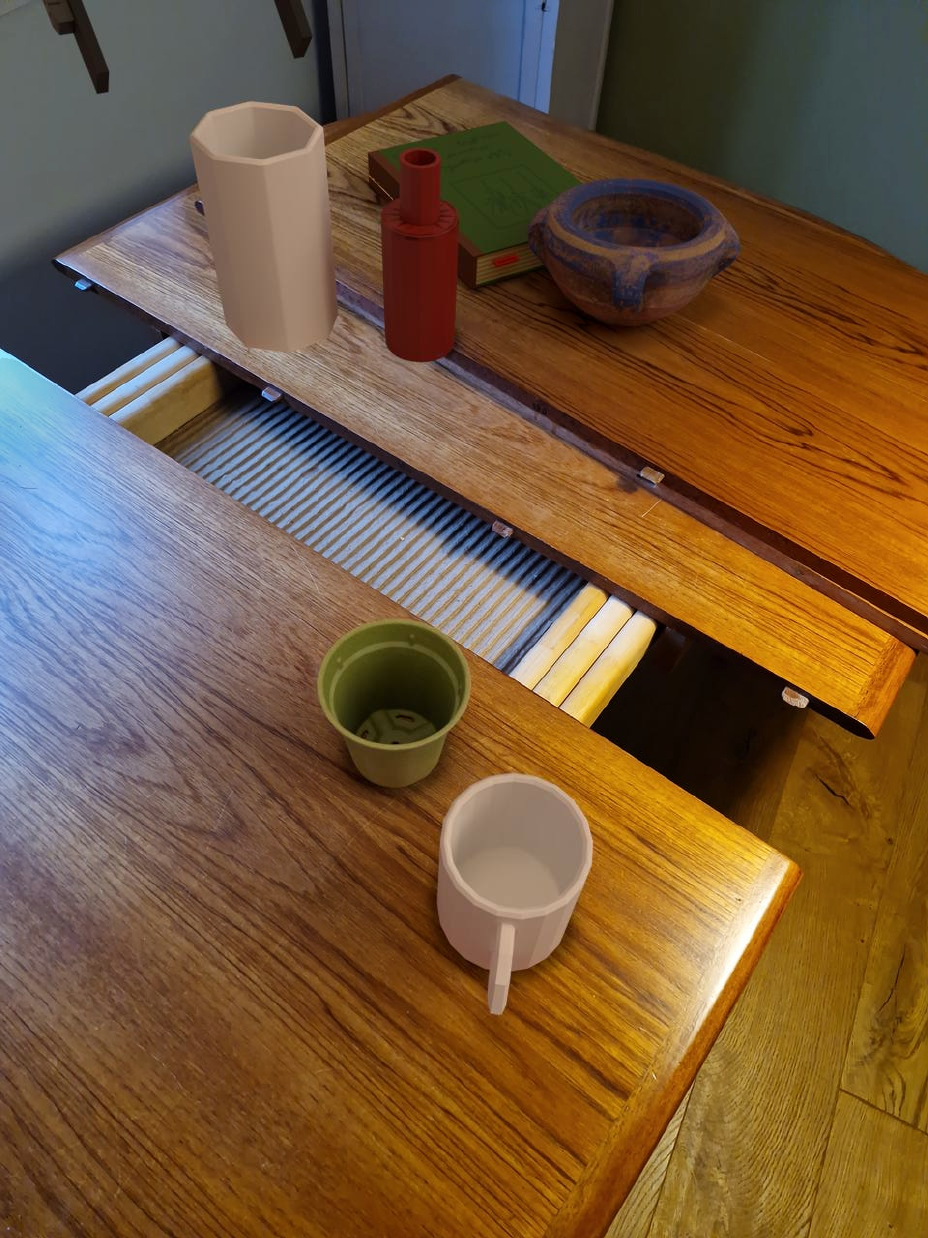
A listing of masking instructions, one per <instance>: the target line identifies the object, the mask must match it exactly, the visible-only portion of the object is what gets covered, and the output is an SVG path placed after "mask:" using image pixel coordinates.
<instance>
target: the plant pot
mask: <svg viewBox="0 0 928 1238" xmlns="http://www.w3.org/2000/svg"><path fill="white" fill-rule="evenodd" d="M316 677H317V679H316V691H317V698H318V701H319V704H320V707H321V709H322V712H323V715H325V718H326V719H327V721H328V722H329V723H330V725H331V726H332V727H333V728H334V729H335V730H336V731H337V732H338V733H340V734H341V735H342V737H343V739H344V741H345V744H346V747H347V749H348V752H349V755H350V756H351V760H352V762H353V764H354V766H355V768H357V771H358V772H359V773H360V774H361V776H363V777H364V778H365V779H367V780H368V781H370V782H372V783H373V784H375V785H377V786H380V787H385V788H390V789H391V788H392V789H393V788H394V789H399V788H405V787H408V786H411V785H413V784H414V783H417V782H418V781H421V780H423V779H424V778H427V776H429V775H430V774H431V773H432V772H433V770H434V769H435V767H436V766H437V764H438V762H439V759H440V757H441V754H442V751H443V747H444V745H445V741H446V739H447V735H448V733H449V732H450V731H451V730H452V729H453V728H454V727H456V725H457V724H458V723H459V722H460V720H461V719H462V716H463V715H464V714H465V712H466V709H467V707H468V703H469V701H470V696H471V691H472V677H471V670H470V666H469V664H468V661H467V659H466V657H465V656H464V653H463V652H462V650H461V648H460V647H459V646H458V645H457V644H456V642H455V641H454V640H453V639H452V638H450V637H449V635H447V634H445V633H444V632H443V631H441V630H440V629H438V628H436V627H434V626H433V625H429V624H428V623H425V622H421V621H417V620H415V619H414V620H413V619H409V618H385V619H377V620H374V621H370V622H366V623H363V624H361V625H359V626H356V627H354V628H353V629H351V630H349V631H348V632H346V633H344V634H343V635H342V636H340V637H339V638H338V639H337V640H336V641H335V642H334V643H333V644H332V646H331V647H330V648H329V649H328V650H327V651H326V653H325V655H324V657H323V658H322V660H321V663H320V666H319V668H318V672H317V676H316ZM398 716H403V717H408V718H410V719H412V720H413V722H412V721H409V720H407V719H405V718H400V717H399V718H398ZM366 731H367V732H368V733H367V734H366V736H365V738H362V735H363V734H364V733H365V732H366ZM393 743H398V744H393Z"/></svg>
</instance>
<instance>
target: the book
mask: <svg viewBox="0 0 928 1238" xmlns="http://www.w3.org/2000/svg"><path fill="white" fill-rule="evenodd" d="M413 148H425V149H431V150H433V151H435V152H437V153H438V154H439V156H440V157H441V186H440V199H441V200H444V201H447V202H448V203H450V204H451V205H452V206H453V207H455V208H456V210H457V212H458V215H459V241H458V268H457V277H459V278H460V279H461V280H462V282H464V283H465V284H466V285H467V287H469V289H471V290H474V289H478V288H482V287H484V286H488V285H492V284H494V283H498V282H501V281H505V280H508V279H511V278H515V277H518V276H522V275H526V274H528V273H531V272H535V271H538V270H542V269H546V267H545V266H544V265H543V263H542V262H541V261H540V260H539V258H538V257H537V256H536V255H535V254H534V253H533V251H532V250H531V249H530V246H529V243H528V238H527V225H528V224H529V222H530V221H531V219H532V218H533V216H534V215H535V213H536V212H537V211H539V210H540V209H542V208H544V207H545V206H547V205H548V204H549V203H551V202H552V201H553V200H555V199H556V198H557V197H558V196H559V195H561V194H562V193H563V192H564V191H566V190H569V189H571V188H573V187H575V186H578V185H582V184H584V182H582V181H581V180H579V179H578V178H577V177H575V176H574V175H573V174H572V173H570V172H569V171H568V170H567V169H565V168H564V166H562V165H561V164H560V163H558V162H557V161H555V159H553V158H552V157H551V156H549V155H548V154H547V153H546V152H545V151H544V150H542V149H541V148H539V146H537V145H536V144H535V143H534V142H533V141H531V140H530V139H529V138H527V137H526V136H525V135H523V134H522V133H521V132H520V131H519V130H517V129H516V128H515V127H514V126H513V125H511V124H510V123H509V122H507V120H503V121H498V122H494V123H489V124H485V125H481V126H476V127H472V128H468V129H464V130H459V131H455V132H450V133H446V134H442V135H438V136H433V137H429V138H425V139H419V140H415V141H411V142H407V143H403V144H398V145H393V146H389V147H385V148H381V149H377V150H372V151H369V152H367V163H368V164H367V165H368V184H369V186H370V187H371V188H372V189H373V190H374V191H375V192H376V193H377V194H378V195H379V196H380V197H381V198H382V200H384V201H385V202H386V203H387V204H388V203H390V202H391V201H393V200H395V199H399V198H400V184H399V157H400V155H401V153H402V152H404V151H406V150H408V149H413ZM369 175H370V176H371V177H372V178H374V179H375V181H376V182H378V183H379V185H380V186H381V187H382V188H383V189H384V190H385V191H386V192H387V193H388V194H389V195H390V197H392V198H393V200H392V199H391V198H390V197H389V196H388V195H387V194H386V193H385V192H384V191H383V190H382V189H381V188H380V187H379V186H378V185H377V184H376V183H375V182H374V181H373V180H372V179H371V178H370V177H369Z"/></svg>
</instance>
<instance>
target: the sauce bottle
mask: <svg viewBox="0 0 928 1238" xmlns="http://www.w3.org/2000/svg"><path fill="white" fill-rule="evenodd" d="M399 184H400V198H399V199H395V200H393V201H391V202H390V203H387V204H385V205H384V206H383V207H382V210H381V212H380V238H381V240H380V241H381V266H382V269H381V270H382V294H383V295H382V297H383V320H384V321H383V322H384V323H383V324H384V338H385V339H384V340H385V345H386V347H387V349H388V351H389V352H390V353H391V354H392V355H393V356H395V357H397V358H399V359H401V360H404V361H407V362H412V363H430V362H434V361H435V362H436V361H438V360H441V359H442V358H444V357H445V356H446V357H447V355H448V354H450V352H451V351H452V350H453V347H454V346H455V338H456V319H457V318H456V317H457V292H458V291H457V290H458V275H457V268H458V241H459V215H458V212H457V210H456V208H455V207H453V206H452V205H451V204H450V203H448V202H447V201H444V200H441V199H440V186H441V157H440V156H439V154H438V153H437V152H435V151H433V150H431V149H425V148H413V149H408V150H406V151H404V152H402V153H401V155H400V157H399Z"/></svg>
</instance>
